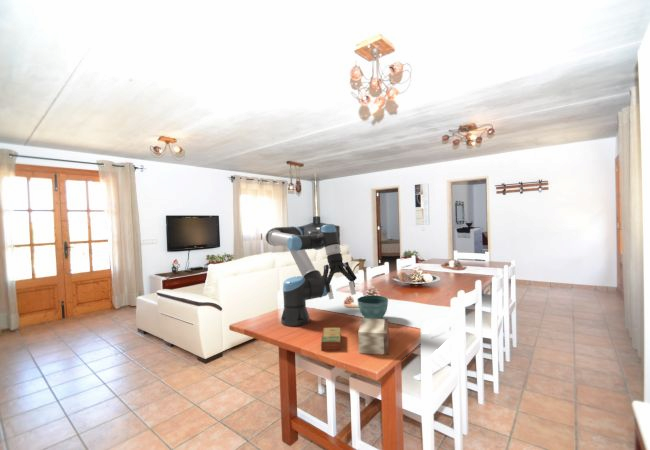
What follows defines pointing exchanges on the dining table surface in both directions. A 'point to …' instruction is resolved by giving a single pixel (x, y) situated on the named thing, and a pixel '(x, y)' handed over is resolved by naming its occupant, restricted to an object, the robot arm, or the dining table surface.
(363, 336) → the marbled stone block
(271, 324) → the dining table surface
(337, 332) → the carton
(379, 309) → the teal bowl
